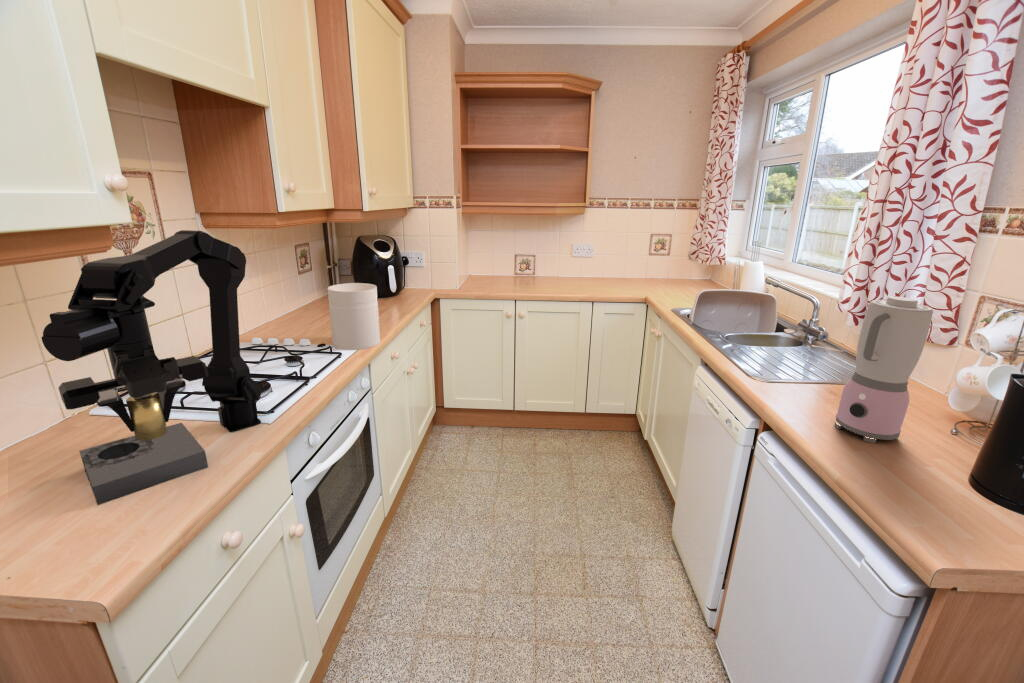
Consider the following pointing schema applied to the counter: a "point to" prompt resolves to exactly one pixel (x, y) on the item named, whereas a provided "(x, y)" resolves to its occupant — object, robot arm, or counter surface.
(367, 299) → the canister
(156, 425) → the bushing
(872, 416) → the blender
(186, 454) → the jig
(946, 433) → the counter surface
